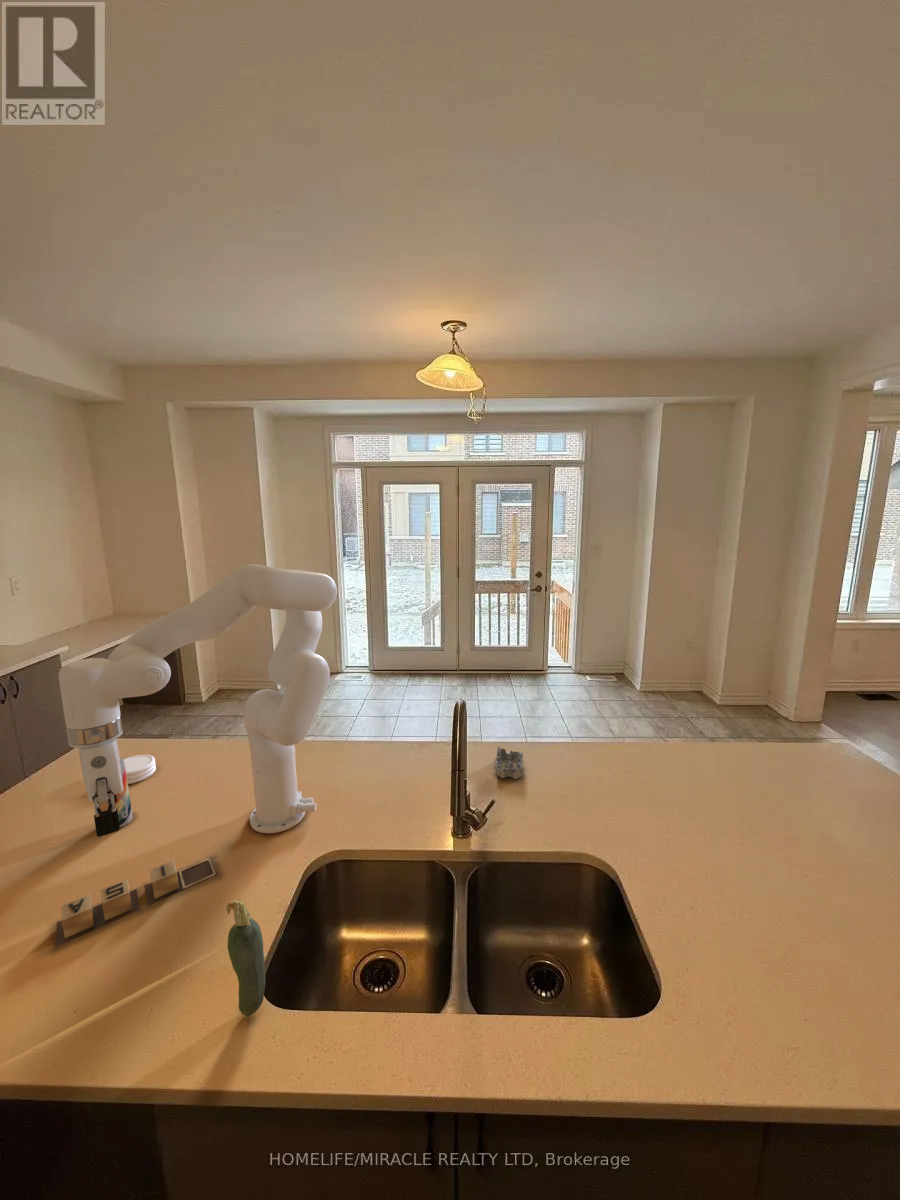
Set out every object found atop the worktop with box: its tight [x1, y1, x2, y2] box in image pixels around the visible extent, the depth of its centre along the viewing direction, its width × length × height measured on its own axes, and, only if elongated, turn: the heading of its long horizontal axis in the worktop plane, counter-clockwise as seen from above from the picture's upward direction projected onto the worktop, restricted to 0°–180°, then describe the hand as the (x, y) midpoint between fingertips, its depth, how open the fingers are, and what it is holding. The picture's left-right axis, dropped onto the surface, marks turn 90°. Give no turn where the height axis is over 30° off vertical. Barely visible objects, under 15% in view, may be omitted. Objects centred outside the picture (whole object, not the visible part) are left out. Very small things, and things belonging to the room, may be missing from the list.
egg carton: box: [495, 746, 524, 780], centre depth 130 cm, size 11×8×4 cm
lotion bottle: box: [115, 757, 133, 828], centre depth 106 cm, size 6×6×20 cm
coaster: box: [123, 754, 157, 785], centre depth 127 cm, size 10×10×4 cm
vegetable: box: [225, 899, 266, 1020], centre depth 65 cm, size 4×4×20 cm
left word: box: [55, 888, 141, 948], centre depth 83 cm, size 12×6×4 cm, turn 128°
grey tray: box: [144, 857, 219, 907], centre depth 91 cm, size 12×6×4 cm, turn 128°
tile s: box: [100, 878, 132, 921], centre depth 84 cm, size 4×4×4 cm
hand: (107, 818), depth 83 cm, fingers open, 9 cm apart
